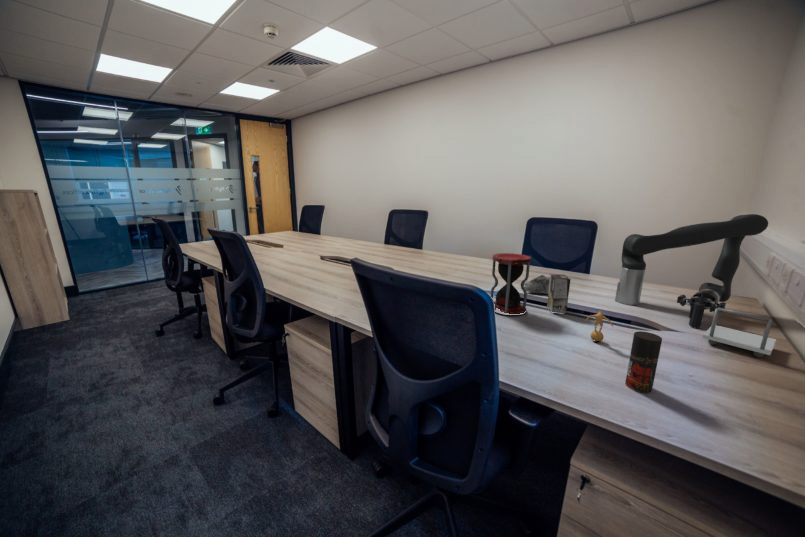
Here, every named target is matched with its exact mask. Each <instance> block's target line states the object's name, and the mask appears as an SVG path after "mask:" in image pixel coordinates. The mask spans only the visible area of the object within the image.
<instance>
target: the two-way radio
mask: <svg viewBox="0 0 805 537" xmlns="http://www.w3.org/2000/svg"><path fill="white" fill-rule="evenodd" d="M704 295H705V292H704V291H703V292H702V295H701V299H699V300H698V302H694V303H692V302H690V306H689V307H690V308H689V309H690V310H689V314H688V318H689V321H688V325H689V326H690V327H691V328H694V329H701V327H702V323H703V319H704V313H705V305H704V303H703V301H704Z"/></svg>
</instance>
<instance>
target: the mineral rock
mask: <svg viewBox="0 0 805 537" xmlns="http://www.w3.org/2000/svg"><path fill="white" fill-rule="evenodd" d="M549 282H550V276H545V275H544V274H541V275H538V276H537V277H535V278H533V279H531V280H530V281H528V282H525V283H524V289H525V290H526V292H527V293H528V292H529V293H531V294H545V295H548V292H549Z"/></svg>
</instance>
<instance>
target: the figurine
mask: <svg viewBox="0 0 805 537" xmlns="http://www.w3.org/2000/svg"><path fill="white" fill-rule="evenodd" d="M590 318H595V319H596V320H594V331H592V332H591V333H590V338H591V340H592V341H593V340H595V341H600V342H602V341H603V340H604V336H605V335H604V333H602V329H603V326H604V322H603V319H604V320H607V321H608V322H609V324H610V326H611V327H614V326H613V325H614V324H613V323H612V322H611V319H609V318H607V317H606V316H605V315H603V312H602V311H598V313H596V314H593V315H592V314H591V315H589V316H587V317H586V319H585V322H587V321H588V320H589V319H590ZM597 325H599V326H600V327H599V330H597ZM595 341H594V342H595Z"/></svg>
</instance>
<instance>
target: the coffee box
mask: <svg viewBox="0 0 805 537" xmlns="http://www.w3.org/2000/svg"><path fill="white" fill-rule="evenodd" d="M549 277H550V282H549V292H548V294H547V303H546V308H547V310H549V309H550V310H551V311H552V312H561V313H566V314H567V310H568V301H569V295H570V294H569V292H570V288H571V279H570V278H569V277H568V276H567V275H565V274H551V273H550V275H549Z"/></svg>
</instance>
